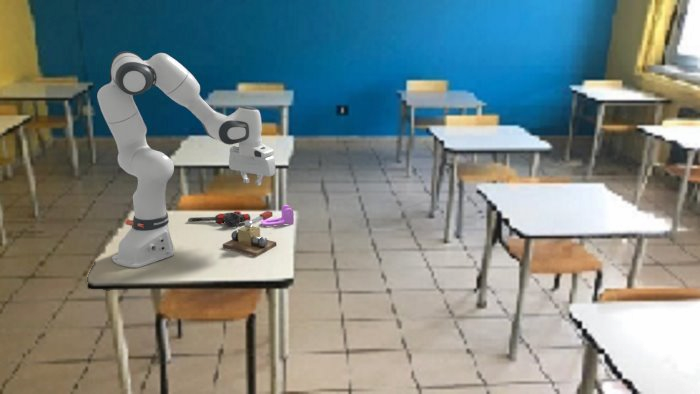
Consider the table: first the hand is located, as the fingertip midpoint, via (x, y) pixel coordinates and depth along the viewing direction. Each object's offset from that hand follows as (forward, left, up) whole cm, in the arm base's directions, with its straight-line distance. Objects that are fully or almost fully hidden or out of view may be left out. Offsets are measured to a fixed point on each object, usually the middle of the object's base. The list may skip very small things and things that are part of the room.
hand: (252, 183), depth 234 cm
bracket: (+14, 0, -22) cm, 26 cm away
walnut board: (-11, -6, -21) cm, 24 cm away
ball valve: (-11, -6, -20) cm, 23 cm away
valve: (+5, +22, -22) cm, 31 cm away
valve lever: (-5, -6, -13) cm, 15 cm away
